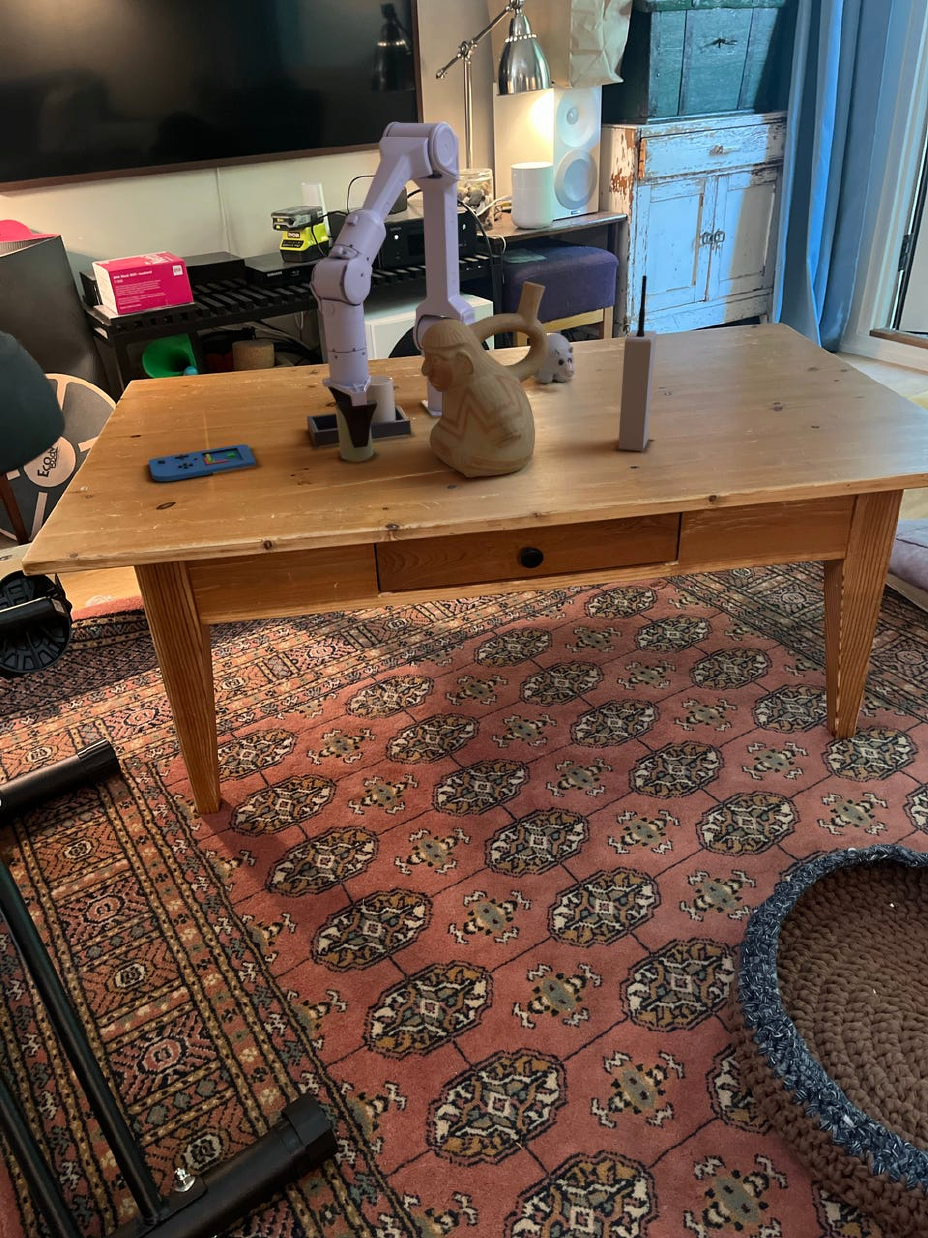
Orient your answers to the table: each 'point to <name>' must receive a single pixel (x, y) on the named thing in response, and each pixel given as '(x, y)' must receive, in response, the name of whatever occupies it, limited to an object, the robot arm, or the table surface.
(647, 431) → the vintage mobile phone
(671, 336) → the table surface
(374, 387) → the cream cup
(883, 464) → the table surface
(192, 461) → the handheld gaming device
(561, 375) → the chubby cartoon animal
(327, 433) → the cup holder
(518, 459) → the ceramic vessel
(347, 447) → the green cup
